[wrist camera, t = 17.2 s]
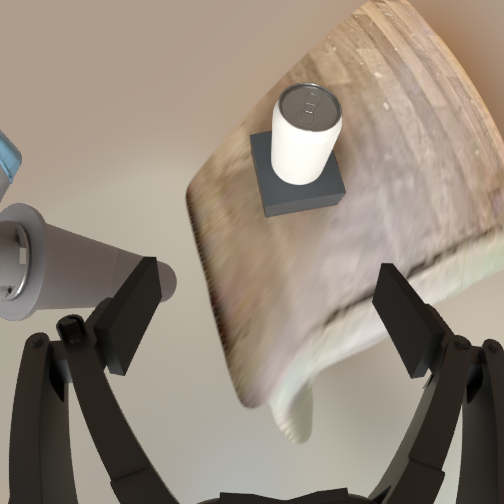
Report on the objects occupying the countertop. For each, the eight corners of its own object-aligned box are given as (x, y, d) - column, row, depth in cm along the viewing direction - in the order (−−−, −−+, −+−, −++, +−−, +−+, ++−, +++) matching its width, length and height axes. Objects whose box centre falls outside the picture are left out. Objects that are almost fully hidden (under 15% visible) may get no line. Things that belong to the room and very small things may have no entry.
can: (264, 177, 34) (263, 123, 22) (279, 134, 35) (284, 72, 23) (315, 193, 34) (339, 146, 22) (328, 148, 34) (351, 91, 23)
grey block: (265, 217, 39) (265, 207, 34) (251, 152, 40) (249, 134, 35) (336, 204, 38) (346, 192, 34) (318, 141, 40) (324, 124, 35)
